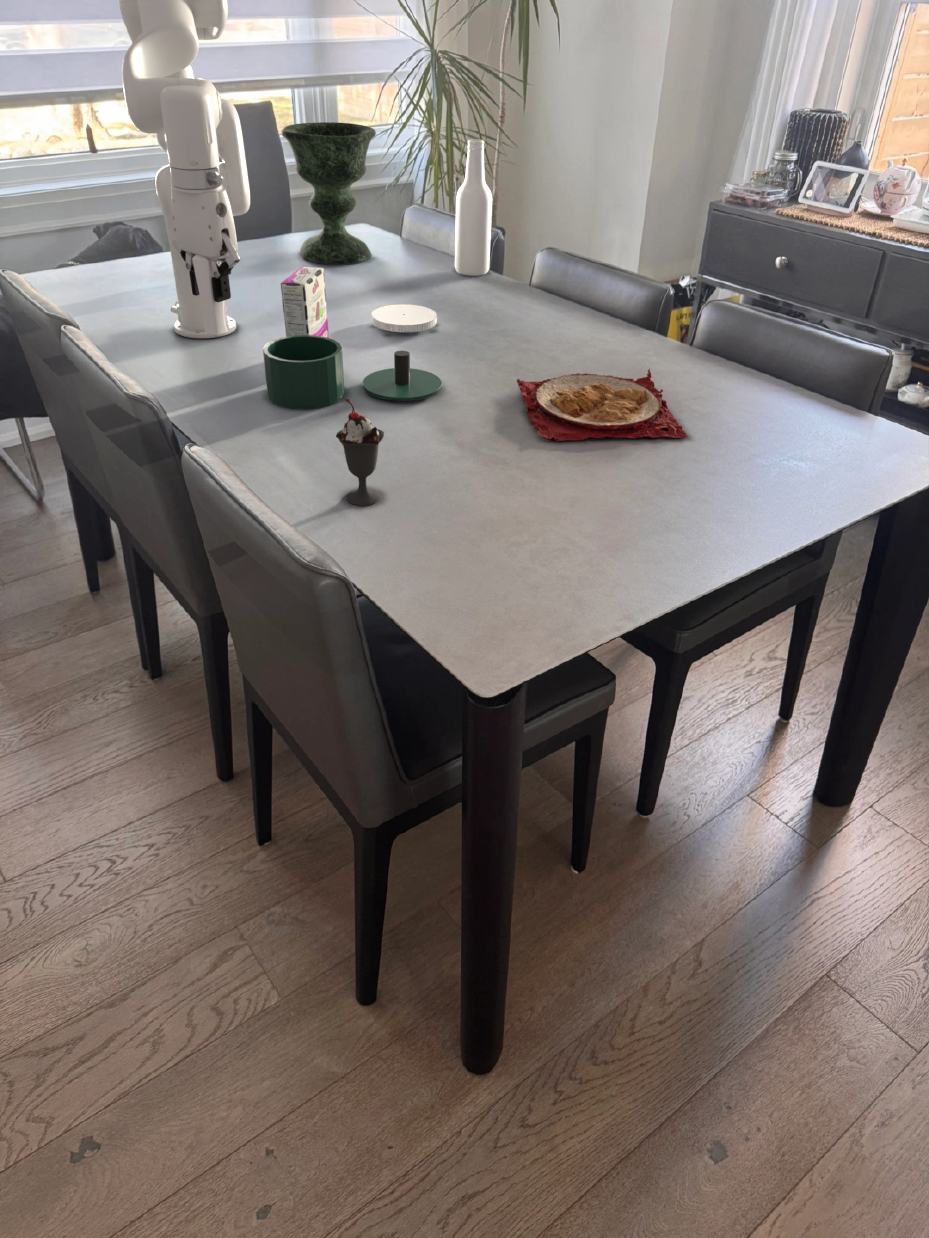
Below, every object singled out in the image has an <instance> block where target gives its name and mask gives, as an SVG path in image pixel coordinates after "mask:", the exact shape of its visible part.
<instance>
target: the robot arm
mask: <svg viewBox="0 0 929 1238" xmlns="http://www.w3.org/2000/svg"><path fill="white" fill-rule="evenodd" d="M118 3H119V10H120V14H121V18H122V22H123V25H124V27H125V31H126V34H127V35H128V39H129V40H130V42H131V44H130V46H129V47H128V49H127V50H126V52H125V54H124V56H123V60H122V64H121V82H122V88H123V96H124V102H125V107H126V112H127V115H128V118H129V120H130V122H131V124H132V125H133V127H135V128H134V129H136V130H138V131H139V132H141V133H144V134H155V137H156V141H157V144H158V146H159V148H160V149H161V150H162V151H163V152H164V153H166V154H167V159H168V164H167V165H165V166H162V167H161V168H160V169H159V170H158V171H157V173H156V175H155V179H154V182H155V184H154V185H155V190H156V195H157V198H158V201H159V205H160V209H161V213H162V215H163V219H164V223H165V228H166V233H167V238H168V244H169V251H170V257H171V264H172V270H173V276H174V283H175V289H176V296H177V301H175V303H174V305H171V307H170V312H171V314H176V315H177V319H178V320H176V322H175V323H174V325H173V327H174V332H175V333H176V334H177V335H180V336H181V337H185V338H190V339H214V338H220V337H224V336H227V335H230V334H232V333H233V332H235V331H236V330H237V322H236V321H237V320H235V319H234V318H232V317H230V316H229V315H228V309H227V301H228V300H230V299H231V298H232V293H231V285H230V277H229V275H231V274H232V270H233V268H234V267H235V266H237V264H238V263H239V262H240V261H241V257H240V256H239V253H238V247H239V246H238V238H237V232H236V225H235V220H234V217H236V216H237V217H238V216H243V215H245V214H247V213H248V212H249V209H250V207H251V189H250V181H249V174H248V167H247V159H246V152H245V143H244V137H243V130H242V125H241V120H240V116H239V114H238V111H237V109H236V106H235V105H234V104H233V103H232V102H231V101H229V100H227V99H225V98H221V94H220V91H219V90H217V89H216V87H215V85H214V84H213V83H212V82H211V81H210V80H208V79H205V78H200V77H195V76H194V70H193V68H192V66H191V64H193V63H194V61H195V60H196V59H197V57H198V55H199V51H200V50H199V49H200V41H211V40H217V39H220V37H221V36H222V35H223V33H224V30H225V28H226V25H227V22H228V18H229V17H228V16H229V5H228V0H118ZM220 159H221V161H222V162H220ZM196 254H197V255H200V256H204V257H208V258H209V260H210V263H211V267H212V271H213V274H214V276H215V277H212V287H213V295H214V300H215V302H221V301H223V303H224V322H225V325H226V327H227V330H228V332H225V333H222V334H219V335H213V334H207V333H205V324H206V323H205V318H204V313H203V309H202V304H201V299H200V294H199V289H198V285H197V280H196V275H195V270H194V265H193V261H192V258H193V257H194V256H195V255H196ZM217 260H221V265H220V266H219V265H218V262H217Z"/></svg>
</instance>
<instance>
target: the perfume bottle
mask: <svg viewBox="0 0 929 1238" xmlns="http://www.w3.org/2000/svg"><path fill="white" fill-rule="evenodd" d="M192 261H193V265H194V270H195V275H196V280H197V285H198V289H199V294H200V299H201V304H202V309H203V313H204V318H205V323H206V324H205V333H207V334H213V335H219V334H222V333H225V332H228V330H227V327H226V325H225V322H224V303H223V301H221V302H215V300H214V295H213V287H212V277H215V276H214V274H213V271H212V267H211V263H210V260H209V258H208V257H204V256H200V255H197V254H196V255H195V256H194V257H193V258H192ZM217 262H218V265H219V266H220V265H221V260H217Z"/></svg>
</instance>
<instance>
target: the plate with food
mask: <svg viewBox="0 0 929 1238" xmlns="http://www.w3.org/2000/svg"><path fill="white" fill-rule="evenodd" d="M652 377H653V376H652V372H651V369H650V368H648V370H647V373H646V376H645V377H644V376H643V377H639V378H636V380H635V378H627V377H626V378H624V377H619V376H614V375H605V374H603V375H601V374H596V373H594V374H593V373H571V374H563V375H561V376H557V377H553V378H547V379H544V380H542V381H525V380H521V378H517V379H516V383H517V385H518V387H519V391H520V393H522V400H523V402H524V404H525V406H526V407H525V408H526V412H527V416H528V419H529V421H530V423H531V424H532V425H533V428H534V429H538V430H537V431H536V432H537V434H538V435H539V436H541V437H544V438H546V439H547V440H551V439H552V438H553V439H554V440H555V441H556V442H561V441H563V442H564V441H574V442H575V441H584V440H585V439H589V438H590V439H591V438H592V439H594V438H595V439H605V438H606V437H608V438H612V439H613V438H617V439H621V438H626V439H627V438H630V439H638V438H643V437H648V438H650V439H655V438H661V437H662V438H665V437H667V438H669V439H670V438H673V439H678V438H680V439H685V438H688V437H689V436H688V434H687V432H685V430H683V426H682V425H681V424H679V422H678V421H677V419H676V418H675V417H674V414H672V412H671V411H670V409H669V408H668V405H667V400H664V399H663V394H662V393H663V392H664V390H663V389H662V388H661V389H660V390H659V389H658V388H656V387H655V382H654V381H653V380H652ZM664 428H665V429H666V428H667V429H668V430H667V431H666V430H663V429H664Z"/></svg>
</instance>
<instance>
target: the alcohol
mask: <svg viewBox="0 0 929 1238" xmlns="http://www.w3.org/2000/svg"><path fill="white" fill-rule="evenodd" d="M466 147H467V157H466V166H465V174H464V175H465V177H464V181H463V182H462V184H461V185H460V187H459V188H458V190H457V193H456V198H455V232H454V233H455V234H454V235H455V240H454V241H455V242H454V269H455V271H456V272H457V273H458V274H459V275H463V276H470V277H471V276H472V277H474V276H475V277H477V276H478V277H479V276H483V275H486V274H488V272H489V270H490V259H491V256H490V255H491V234H492V213H493V212H492V211H493V196H492V191H491V189H490V187H489V186H488V184H487V183H486V179H485V152H484V151H485V141H484V140H483V139H481V138H480V139H479V138H471V139H468V140H467V146H466Z"/></svg>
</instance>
